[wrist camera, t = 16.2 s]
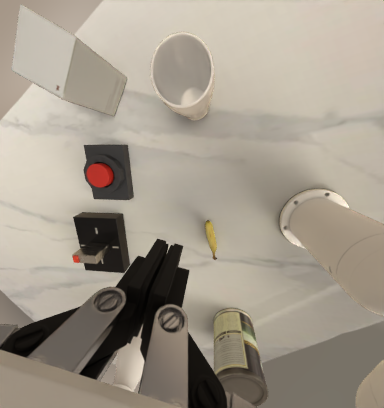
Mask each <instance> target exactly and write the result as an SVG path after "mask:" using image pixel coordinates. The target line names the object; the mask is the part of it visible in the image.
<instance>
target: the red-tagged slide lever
mask: <svg viewBox="0 0 384 408" xmlns="http://www.w3.org/2000/svg"><path fill="white" fill-rule="evenodd" d="M109 251H110V245H109V243H92V242H88V243H87V244H86V245H85V246H83V247H82V248H81V249H79V250H78V251H77V252H75V253H74V254H73V260H74V262H75V263H92V264H97V263H98V262H99V261H100V260H101V259H102V258H103V257H104V256H105V255H106V254H107V253H108V252H109Z"/></svg>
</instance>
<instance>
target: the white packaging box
mask: <svg viewBox="0 0 384 408" xmlns="http://www.w3.org/2000/svg"><path fill="white" fill-rule="evenodd" d="M11 69H12V71H13V72H15V73H17V74H18V75H20V76H22V77H24V78H25V79H27V80H29V81H31V82H33V83H34V84H36V85H38V86H39V87H41V88H43V89H45V90H47V91H48V92H50V93H52V94H54V95H55V96H57V97H59V98H61V99H62V100H65V101H68V102H71V103H74V104H78V105H81V106H84V107H87V108H90V109H93V110H96V111H99V112H102V113H105V114H108V115H112V116H114V115H115V113H116V110H117V107H118V104H119V101H120V98H121V95H122V92H123V90H124V87H125V84H126V80H127V77H125V76H124V75H123V74H122V73H121V72H119V71H118V70H117V69H116V68H114V67H113V66H112V65H111V64H109V63H108V62H107V61H106V60H104V59H103V58H102V57H101V56H99V55H98V54H97V53H96V52H94V51H93V50H92V49H91V48H89V47H88V46H87V45H86V44H84V43H83V42H82V41H81V40H79V39H78V38H77V37H76V36H74V35H73V34H71V33H70V32H68V31H66V30H65V29H63V28H61V27H60V26H58V25H56V24H55V23H52V22H51V21H49V20H47V19H46V18H44V17H42V16H41V15H39V14H37V13H35V12H34V11H32V10H30V9H29V8H27V7H25V6H23V5H20V10H19V17H18V25H17V32H16V40H15V48H14V56H13V62H12V68H11Z"/></svg>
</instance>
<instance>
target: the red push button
mask: <svg viewBox="0 0 384 408" xmlns="http://www.w3.org/2000/svg"><path fill="white" fill-rule="evenodd" d="M87 178H88V180H89V182H90V183H91V184H92V185H94V186H95V187H104V186H107V185H109V184H111V183H112V181H113V179H114V174H113V171H112V169H111V168H110V167H109V166H108V165H106V164H104V163H98V164H92V165H91V166H89V168H88V169H87Z"/></svg>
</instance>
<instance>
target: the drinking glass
mask: <svg viewBox="0 0 384 408" xmlns="http://www.w3.org/2000/svg"><path fill="white" fill-rule="evenodd" d="M150 75H151V81H152V85H153V87H154V90H155V92H156V93H157V95H158V96H159V98H160V99H161V100H162V101H163V102H164V103H165V104H166V105H167V106H168V107H169V108H170V109H171V110H173V111H174V112H176V113H178V114H180V115H183V116H185V117H186V118H188V119H190V120H200V119H202V118H203V117H204V116H205V115H206V114H207V113H208V111H209V107H210V101H211V98H212V95H213V90H214V82H215V74H214V63H213V58H212V55H211V52H210V50H209V48H208V47H207V45H206V44H205V43H204V41H203V40H202V39H200V38H199V37H198V36H196V35H194V34H192V33H188V32H177V33H174V34H171V35H169V36H167V37H166V38H165V39H164V40H162V41H161V42H160V44H159V45H158V46H157V48H156V50H155V52H154V54H153V57H152V60H151V67H150Z"/></svg>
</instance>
